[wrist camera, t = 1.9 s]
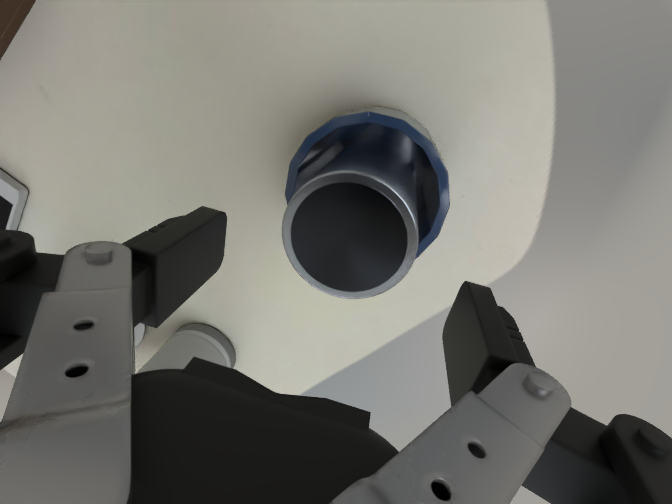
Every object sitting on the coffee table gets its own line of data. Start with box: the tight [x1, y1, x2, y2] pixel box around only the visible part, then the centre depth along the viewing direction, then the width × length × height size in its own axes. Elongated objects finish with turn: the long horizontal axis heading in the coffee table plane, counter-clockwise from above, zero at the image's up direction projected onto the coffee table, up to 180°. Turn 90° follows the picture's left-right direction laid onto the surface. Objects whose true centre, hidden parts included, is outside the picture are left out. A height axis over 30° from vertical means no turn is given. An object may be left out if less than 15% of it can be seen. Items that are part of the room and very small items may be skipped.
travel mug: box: [137, 324, 235, 373], centre depth 25 cm, size 6×7×20 cm
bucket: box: [285, 106, 450, 259], centre depth 22 cm, size 9×9×6 cm
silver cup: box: [282, 135, 419, 299], centre depth 19 cm, size 5×5×11 cm
